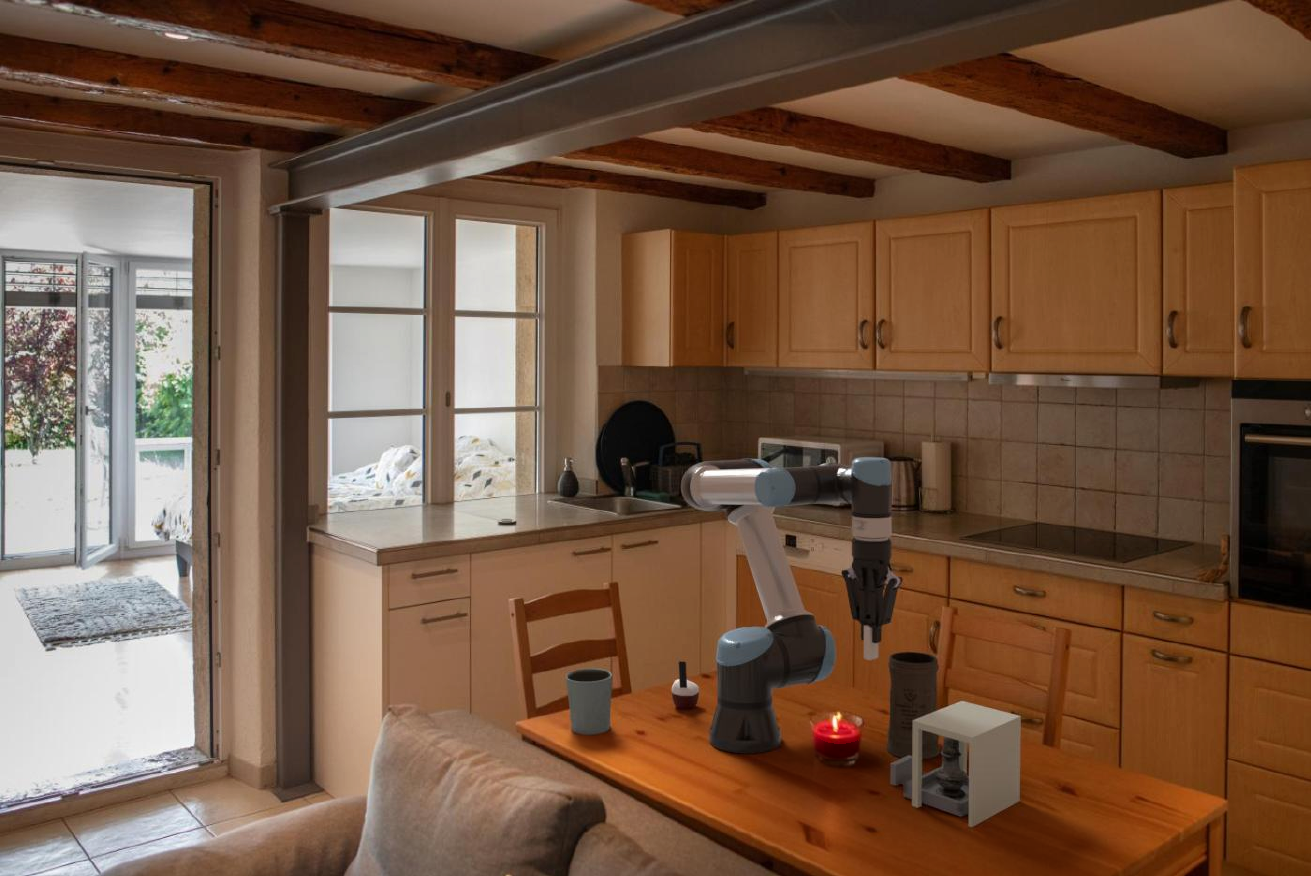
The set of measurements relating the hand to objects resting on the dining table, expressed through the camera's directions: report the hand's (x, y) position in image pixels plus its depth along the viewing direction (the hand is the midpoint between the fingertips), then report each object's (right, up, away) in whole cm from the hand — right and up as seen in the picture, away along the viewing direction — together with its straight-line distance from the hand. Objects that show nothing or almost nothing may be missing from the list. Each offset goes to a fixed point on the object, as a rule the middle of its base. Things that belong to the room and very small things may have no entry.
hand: (871, 657), depth 202 cm
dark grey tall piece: (+12, -22, -12) cm, 28 cm away
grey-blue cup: (-56, -21, +27) cm, 66 cm away
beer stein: (+12, -22, +14) cm, 28 cm away
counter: (+14, -23, -14) cm, 31 cm away
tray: (+10, -23, -10) cm, 27 cm away
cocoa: (-35, -20, +41) cm, 58 cm away
